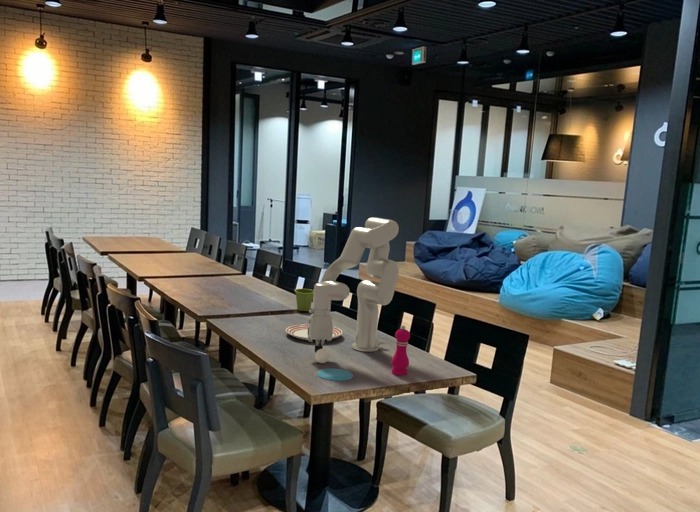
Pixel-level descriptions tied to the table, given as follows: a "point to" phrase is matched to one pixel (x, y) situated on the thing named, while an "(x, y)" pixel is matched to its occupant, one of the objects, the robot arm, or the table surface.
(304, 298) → the plant pot
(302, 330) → the dinner plate
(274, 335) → the table surface
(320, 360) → the ball
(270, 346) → the table surface
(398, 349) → the pepper mill
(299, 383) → the table surface
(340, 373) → the disc
